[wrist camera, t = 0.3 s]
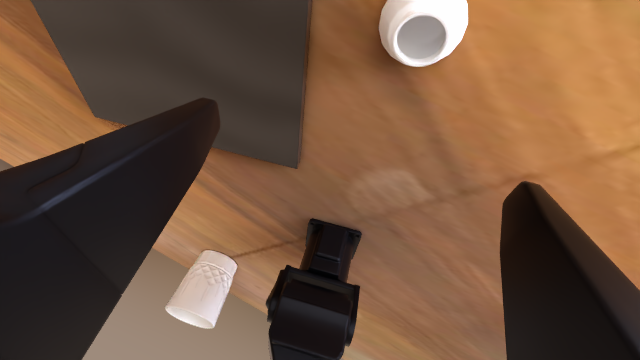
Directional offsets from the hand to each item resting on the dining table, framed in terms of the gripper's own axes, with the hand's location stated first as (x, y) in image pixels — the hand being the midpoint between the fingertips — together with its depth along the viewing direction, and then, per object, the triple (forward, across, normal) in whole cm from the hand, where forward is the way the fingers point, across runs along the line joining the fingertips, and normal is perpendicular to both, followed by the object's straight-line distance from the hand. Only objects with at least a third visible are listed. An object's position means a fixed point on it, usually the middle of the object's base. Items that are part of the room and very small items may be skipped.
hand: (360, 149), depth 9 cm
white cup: (+14, +17, +45) cm, 51 cm away
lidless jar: (+14, -2, +1) cm, 15 cm away
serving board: (+14, +16, +8) cm, 23 cm away
